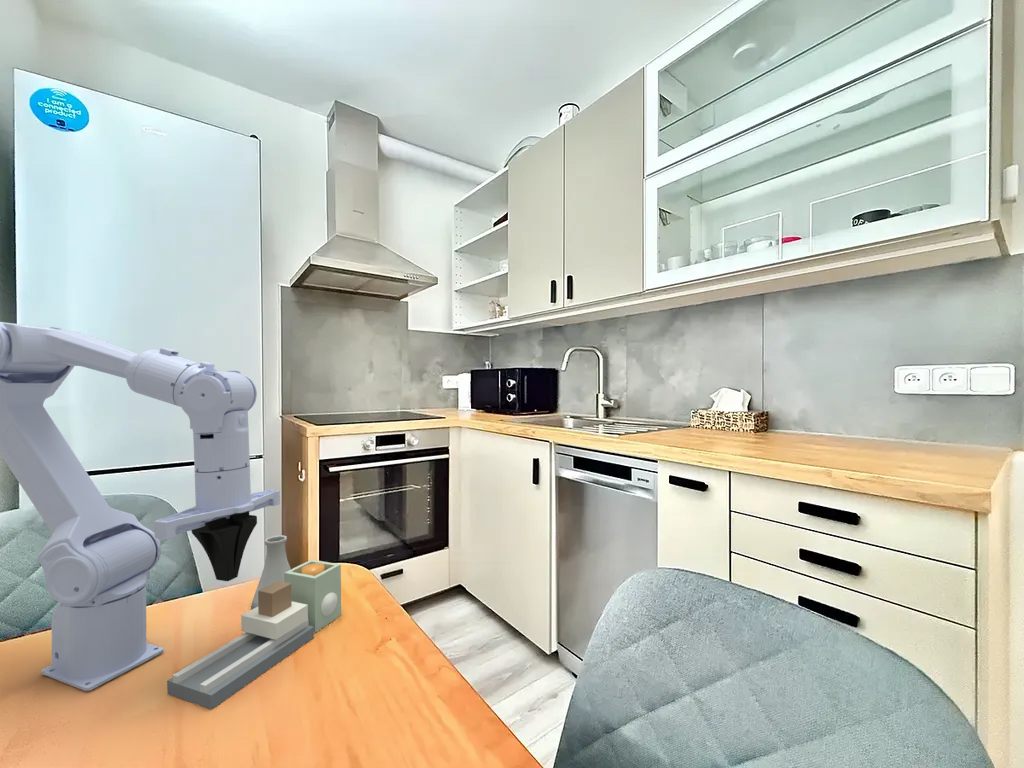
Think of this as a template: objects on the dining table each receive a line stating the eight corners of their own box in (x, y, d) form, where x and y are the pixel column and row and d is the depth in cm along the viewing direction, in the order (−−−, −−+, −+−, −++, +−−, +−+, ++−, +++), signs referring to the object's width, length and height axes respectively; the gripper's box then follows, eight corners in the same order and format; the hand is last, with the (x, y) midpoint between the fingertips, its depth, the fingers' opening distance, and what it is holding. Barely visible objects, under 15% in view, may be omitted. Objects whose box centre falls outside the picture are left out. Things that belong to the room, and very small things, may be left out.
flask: (293, 586, 75) (293, 527, 75) (308, 601, 70) (307, 538, 70) (245, 601, 70) (244, 538, 70) (256, 618, 65) (255, 550, 65)
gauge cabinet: (284, 625, 63) (284, 572, 63) (311, 608, 67) (311, 559, 67) (316, 633, 61) (315, 578, 61) (342, 615, 65) (341, 564, 65)
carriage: (241, 630, 57) (241, 592, 57) (274, 612, 61) (274, 576, 61) (276, 639, 55) (275, 599, 55) (307, 619, 59) (307, 582, 59)
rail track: (167, 694, 49) (167, 673, 49) (275, 628, 62) (274, 611, 62) (211, 709, 46) (211, 687, 46) (313, 637, 60) (313, 620, 60)
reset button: (297, 583, 63) (296, 569, 63) (313, 575, 66) (312, 561, 66) (313, 586, 62) (313, 572, 62) (329, 578, 65) (328, 564, 65)
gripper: (183, 482, 46) (188, 612, 46) (295, 458, 60) (299, 558, 60) (140, 479, 49) (144, 602, 49) (257, 457, 62) (260, 553, 62)
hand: (227, 578), depth 54 cm, fingers closed
